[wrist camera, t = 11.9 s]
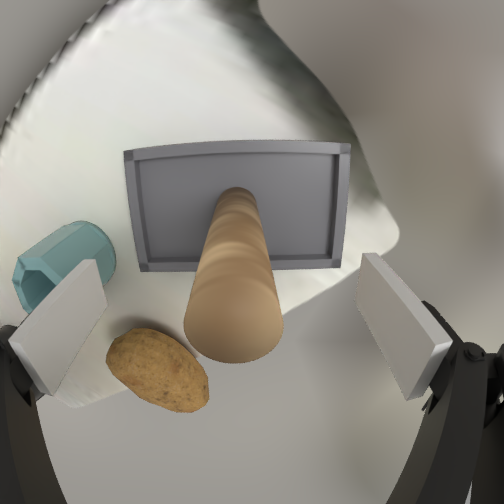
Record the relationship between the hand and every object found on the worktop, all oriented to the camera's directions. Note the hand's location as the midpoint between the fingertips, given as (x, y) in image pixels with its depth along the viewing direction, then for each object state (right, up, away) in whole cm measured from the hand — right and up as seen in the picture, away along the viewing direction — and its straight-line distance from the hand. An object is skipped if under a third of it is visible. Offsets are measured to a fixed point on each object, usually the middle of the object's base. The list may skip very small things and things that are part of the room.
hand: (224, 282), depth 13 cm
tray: (0, +6, +14) cm, 15 cm away
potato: (-10, -11, +21) cm, 26 cm away
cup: (-18, +1, +15) cm, 24 cm away
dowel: (0, +6, +12) cm, 14 cm away
